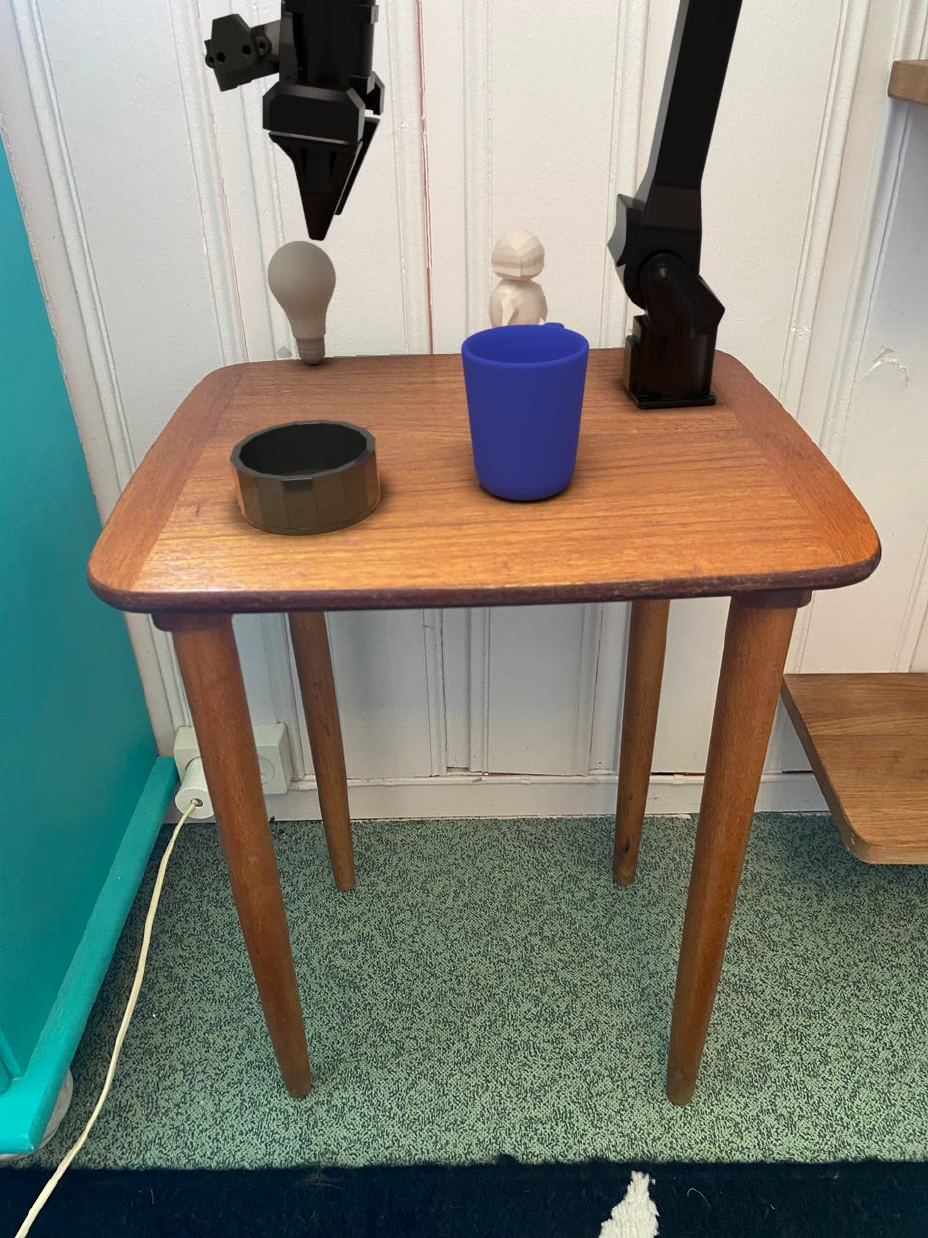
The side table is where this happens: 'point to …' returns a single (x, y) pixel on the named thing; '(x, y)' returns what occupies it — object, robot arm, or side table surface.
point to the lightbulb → (303, 293)
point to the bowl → (306, 476)
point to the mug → (525, 406)
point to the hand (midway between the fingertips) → (326, 226)
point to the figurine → (517, 280)
